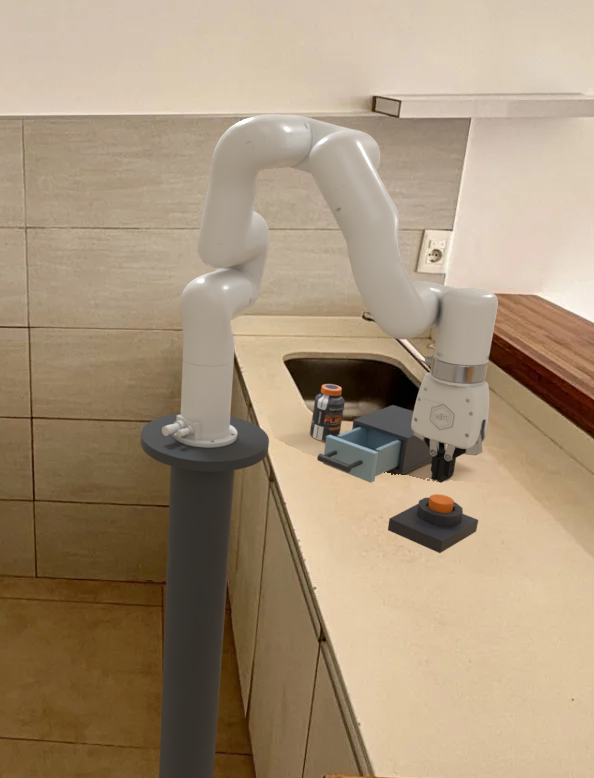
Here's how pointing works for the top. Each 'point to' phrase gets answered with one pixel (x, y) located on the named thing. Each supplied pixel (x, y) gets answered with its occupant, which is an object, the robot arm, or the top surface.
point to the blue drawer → (362, 453)
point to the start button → (441, 503)
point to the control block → (433, 526)
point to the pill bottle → (327, 412)
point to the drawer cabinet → (398, 435)
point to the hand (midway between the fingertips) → (440, 478)
